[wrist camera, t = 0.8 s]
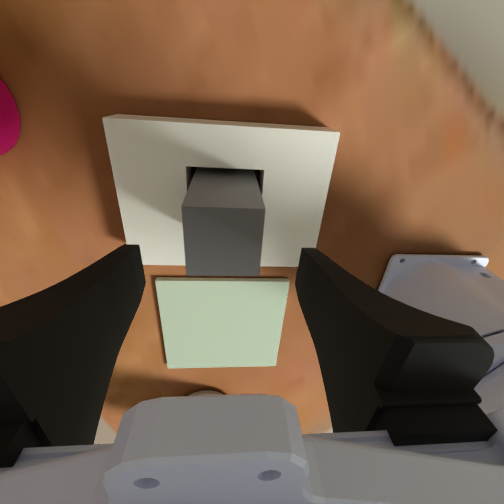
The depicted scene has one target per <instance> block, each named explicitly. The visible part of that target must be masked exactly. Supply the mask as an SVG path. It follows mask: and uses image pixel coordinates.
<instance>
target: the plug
mask: <svg viewBox="0 0 504 504" xmlns="http://www.w3.org/2000/svg"><path fill="white" fill-rule="evenodd" d="M181 210H182V224H183V238H184V251H185V265H186V276H259V273H260V263H261V252H262V242H263V231H264V221H265V210H266V209H265V205H264V202H263V199H262V195H261V192H260V189H259V185H258V182H257V179H256V175H255V172H254V169H234V168H212V167H197V168H196V171H195V173H194V176H193V178H192V181H191V183H190V186H189V188H188V191H187V193H186V196H185V198H184V201H183V203H182V206H181Z"/></svg>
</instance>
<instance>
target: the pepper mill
mask: <svg viewBox="0 0 504 504" xmlns="http://www.w3.org/2000/svg"><path fill="white" fill-rule="evenodd" d="M19 134H20V115H19V112H18V109H17V106H16V103H15V100H14V98H13V96H12V95H11V93H10V91H9V90H8V88H7V86H6V85H5V84H4V82H3V81H2V80H1V78H0V155H3V154H5V153H6V152H8V151H10V150H11V149H12V148H13V147H14V146H15V144H16V142H17V140H18V138H19Z"/></svg>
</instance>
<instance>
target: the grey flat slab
mask: <svg viewBox="0 0 504 504" xmlns="http://www.w3.org/2000/svg"><path fill="white" fill-rule="evenodd" d="M102 120H103V125H104V130H105V136H106V141H107V146H108V151H109V156H110V161H111V166H112V171H113V177H114V182H115V187H116V192H117V197H118V202H119V207H120V212H121V218H122V223H123V228H124V233H125V238H126V243H127V244H138V245H139V246H140V252H141V258H142V264H143V265H185V251H184V238H183V224H182V210H181V206H182V203H183V201H184V198H185V196H186V193H187V191H188V188H189V186H190V183H191V167H212V168H234V169H255V170H260V174H259V189H260V192H261V195H262V199H263V202H264V205H265V209H266V210H265V221H264V231H263V242H262V252H261V263H260V266H274V267H298V265H299V259H300V254H301V248H316V245H317V240H318V235H319V231H320V226H321V221H322V216H323V212H324V207H325V202H326V198H327V193H328V188H329V183H330V179H331V174H332V169H333V165H334V160H335V155H336V150H337V146H338V141H339V136H340V132H339V131H336V130H334V129H331V128H329V127H317V126H302V125H286V124H270V123H254V122H238V121H222V120H206V119H190V118H175V117H159V116H143V115H127V114H115V115H111V116H107V117H102Z"/></svg>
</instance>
